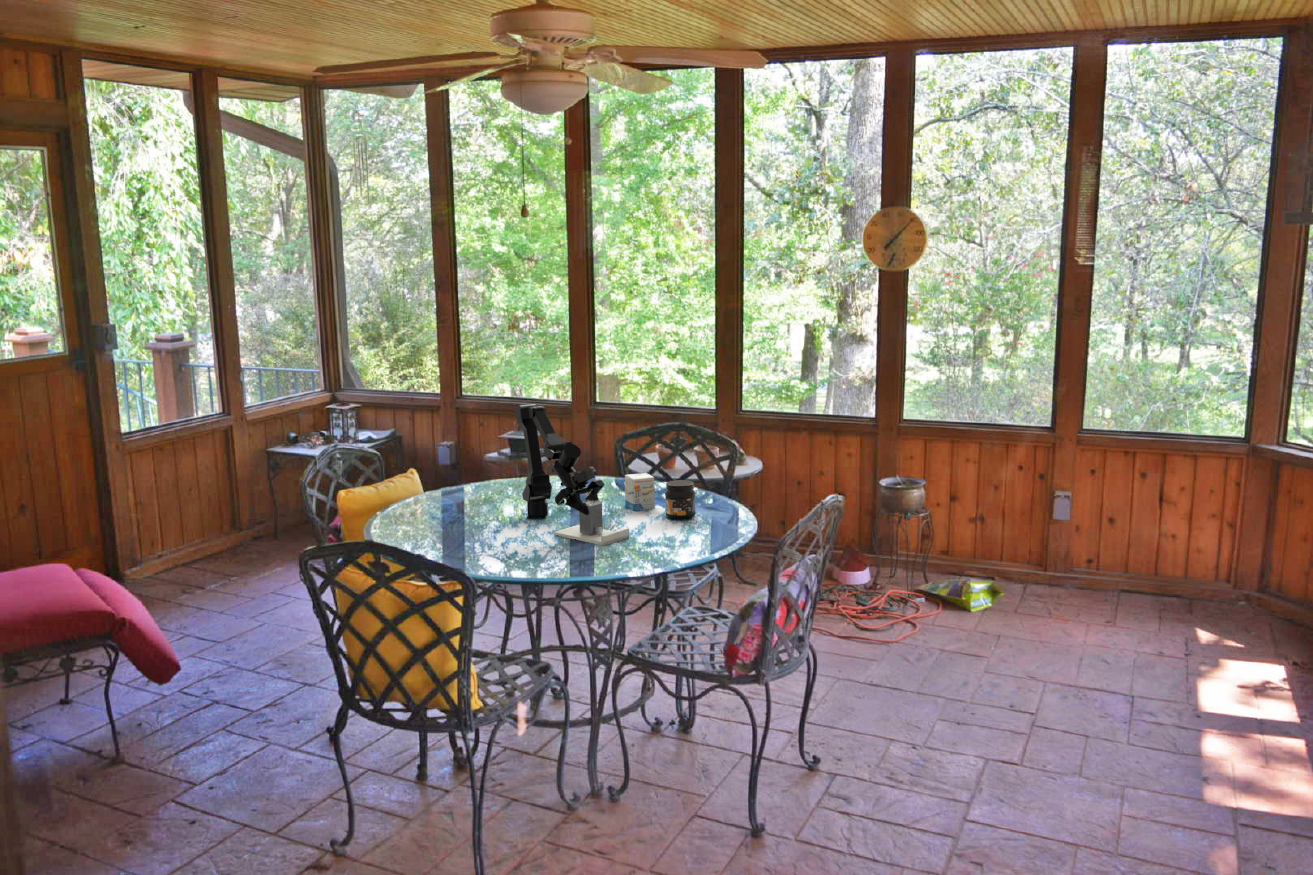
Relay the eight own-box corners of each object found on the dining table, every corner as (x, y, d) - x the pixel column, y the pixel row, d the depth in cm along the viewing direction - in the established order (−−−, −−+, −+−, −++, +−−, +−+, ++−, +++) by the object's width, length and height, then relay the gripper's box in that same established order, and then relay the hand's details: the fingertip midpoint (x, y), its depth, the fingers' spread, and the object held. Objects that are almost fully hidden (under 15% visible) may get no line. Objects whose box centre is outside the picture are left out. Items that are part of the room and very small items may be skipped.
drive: (579, 532, 345) (578, 502, 344) (591, 528, 350) (590, 499, 348) (591, 534, 342) (590, 504, 341) (602, 531, 346) (602, 501, 345)
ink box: (633, 511, 378) (632, 478, 376) (624, 506, 386) (624, 474, 384) (655, 508, 382) (655, 476, 379) (647, 503, 389) (646, 472, 387)
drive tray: (554, 534, 349) (553, 524, 348) (579, 527, 358) (579, 517, 357) (604, 545, 335) (603, 534, 334) (629, 537, 344) (629, 526, 343)
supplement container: (660, 519, 367) (659, 484, 365) (672, 512, 376) (672, 478, 374) (688, 521, 362) (688, 487, 360) (700, 514, 372) (700, 480, 370)
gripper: (559, 464, 337) (586, 503, 332) (599, 455, 351) (625, 492, 346) (543, 485, 344) (569, 524, 339) (582, 475, 358) (608, 512, 353)
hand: (593, 512), depth 344 cm, fingers closed on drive, 5 cm apart
